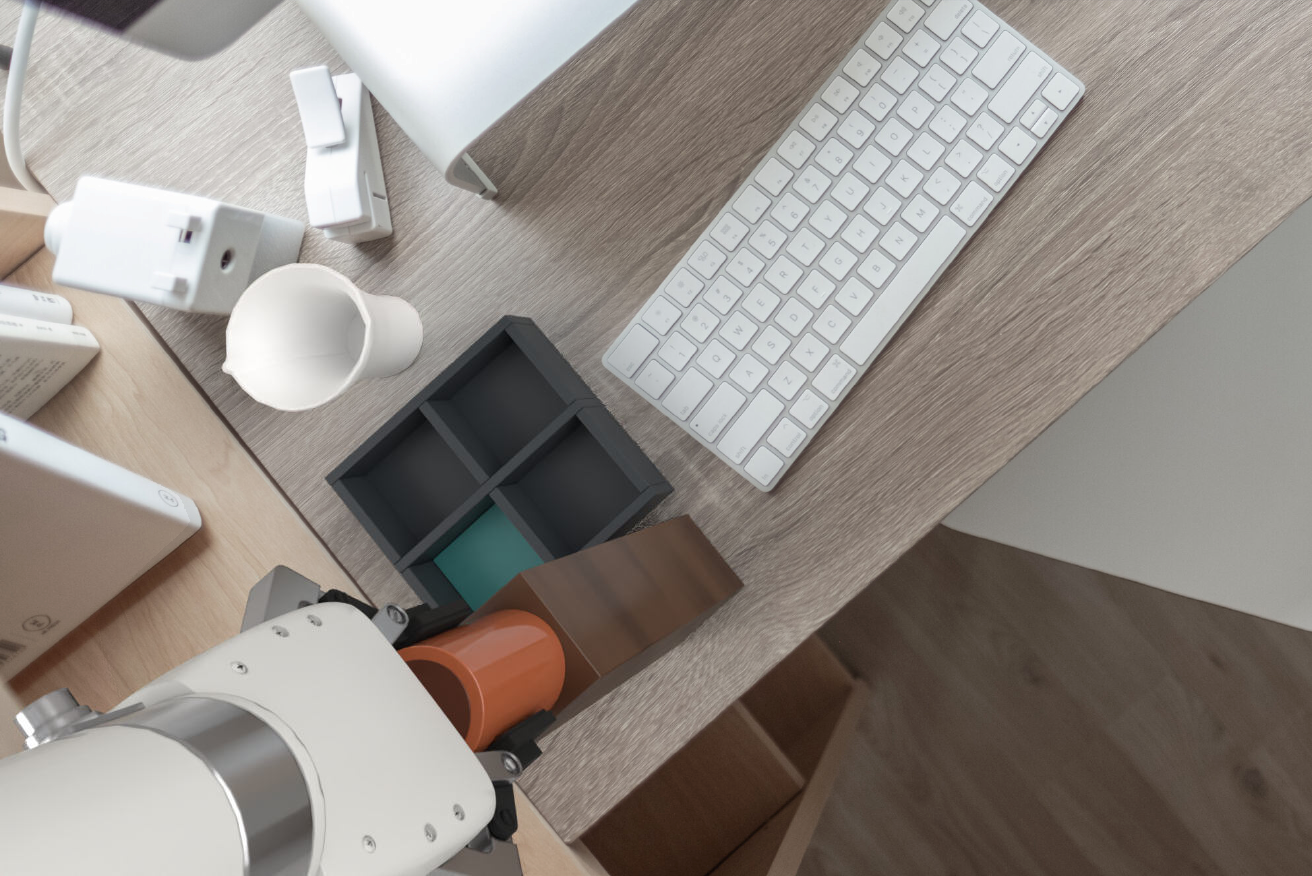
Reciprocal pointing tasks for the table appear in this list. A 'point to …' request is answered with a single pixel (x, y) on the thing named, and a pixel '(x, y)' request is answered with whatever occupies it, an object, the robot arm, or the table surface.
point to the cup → (315, 337)
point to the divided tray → (496, 471)
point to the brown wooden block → (620, 605)
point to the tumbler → (490, 673)
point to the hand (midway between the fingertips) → (481, 683)
